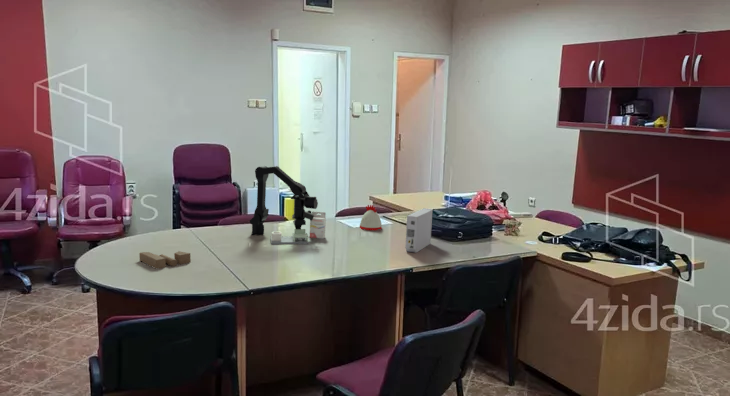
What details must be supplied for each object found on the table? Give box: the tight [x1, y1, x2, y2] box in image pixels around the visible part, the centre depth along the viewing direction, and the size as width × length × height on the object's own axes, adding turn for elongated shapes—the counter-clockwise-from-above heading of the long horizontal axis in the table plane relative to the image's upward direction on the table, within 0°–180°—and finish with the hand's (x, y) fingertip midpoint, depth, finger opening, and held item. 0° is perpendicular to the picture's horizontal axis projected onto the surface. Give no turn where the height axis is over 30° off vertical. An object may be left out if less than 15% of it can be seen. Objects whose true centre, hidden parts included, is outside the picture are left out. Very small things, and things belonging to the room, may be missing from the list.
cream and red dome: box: [359, 204, 383, 231], centre depth 346 cm, size 14×14×15 cm
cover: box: [292, 228, 309, 243], centre depth 303 cm, size 8×7×6 cm
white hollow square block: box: [271, 231, 282, 241], centre depth 302 cm, size 5×5×4 cm
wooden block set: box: [138, 250, 192, 269], centre depth 255 cm, size 17×6×18 cm
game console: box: [404, 207, 433, 254], centre depth 300 cm, size 6×27×20 cm, turn 155°
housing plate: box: [270, 235, 309, 245], centre depth 305 cm, size 20×14×4 cm
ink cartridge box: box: [309, 211, 327, 239], centre depth 315 cm, size 9×5×15 cm, turn 84°
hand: (298, 234), depth 313 cm, fingers closed
